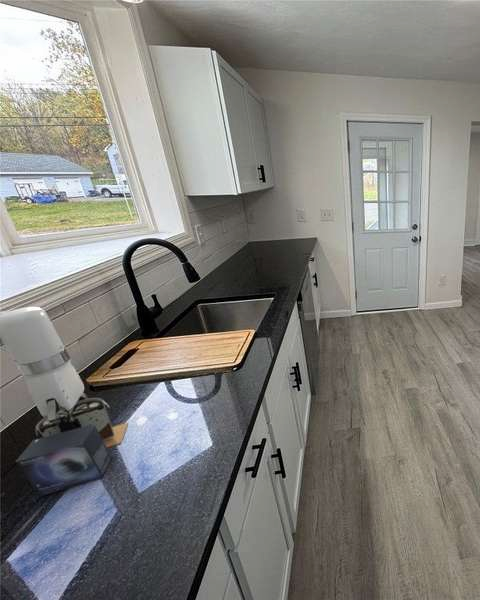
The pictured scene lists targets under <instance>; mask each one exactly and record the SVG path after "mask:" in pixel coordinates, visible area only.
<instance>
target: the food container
mask: <svg viewBox="0 0 480 600" xmlns="http://www.w3.org/2000/svg"><path fill="white" fill-rule="evenodd" d="M107 408H108V409H109V408H110V405H109V404H108V403H107V402H106V401H105V400H104V399H102V398H100V397H89V398H87V399H84V400H80V401H77V402H76V404H75V405H74V407H73V408H72V411H73V415H74V419H76V418H77V419H78V421H79V422H80V424H81V426H82V427H84V426H88V425H92V424H95V426H96V429H97V431H98V433H99V434H100V436H101V438H102V440H103V441H104V440H107V439H109V438H111V437H113V436H115V435H114V431H113V428H112V427H113V425H112V422H111V420H110V417H109V414H108V410H107ZM64 409H66V408H65V407H62V408H59V411H60V410H64ZM60 416H61V417H62V416H66V417H68V416H67V412H63V413H60ZM58 433H62V432H61V430H60V428H59V427H58V426H56V424H53V423H50V422H48V417H43V418H42V419H41V420H40V421H38V423H37V424H36V426H35V434H36V436H37V437H38V436H39V434H41V436H42V438H43V437H47V436H50V435H54V434H58Z"/></svg>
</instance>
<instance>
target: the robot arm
mask: <svg viewBox="0 0 480 600" xmlns="http://www.w3.org/2000/svg"><path fill="white" fill-rule="evenodd" d="M2 345H3V346H4V347H5V348H6V350H7V352H8V354H9V355H10V357H11V359H12V360H13V362H14V363H15V365H16V367H17V368H18V370H19V372H20V373H21V375H22V376H23V377H24V378H25V381H26V385H27V388H28V391H29V394H30V396H31V399H32V400H33V402H34V404H35V406H36V407H37V410H38V411H39V414H40V415H41V416H42V417H43V418H45V417H48V422H50V423H53V424H56V426H58V427H59V428H60V430H61V432H65V431H69V430H73V429H77V428H81V427H82V426H81V424H80V422H79V421H78V419H77V418H76V419H74V415H73V411H72V408H73V407H74V405H75V404H76V402H77V401H80V400H84V399H88V395H87V394H86V393H85V384H84V382H83V381H82V378H81V377H80V375H79V373H78V372H77V370H76V368H75V367H74V366H73V364H72V363H71V362H72V358H71V356H70V355H69V353H68V351H67V349H66V347H65V345H64V343H63V342H62V340H61V338H60V336H59V334H58V332H57V330H56V328H55V327H54V324H53V323H52V321H51V319H50V317H49V315H48V314H47V312H46V310H45V309H43V308H41V307H39V306H38V307H37V306H27V307H20V308H16V309H11V310H7V311H5V310H4V311H0V346H2ZM62 407H65V408H66V409H64V410H60V411H59V409H60V408H62ZM63 412H67V416H68V417H66V416H62V417H61V416H60V413H63Z"/></svg>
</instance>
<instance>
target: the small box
mask: <svg viewBox="0 0 480 600" xmlns="http://www.w3.org/2000/svg"><path fill="white" fill-rule="evenodd" d="M113 459H114V457H113V455H112V454H111V452H110V450H109V448H107V447H106V445H105V443H104V441H103V440H102V438H101V436H100V434H99V433H98V431H97V429H96V426H95V424H92V425H88V426H84V427H81V428H77V429H73V430H69V431H65V432H62V433H58V434H54V435H50V436H47V437H43V436H42V437H40V438H35V439H33V440H32V441H31V442H30V443H29V445H28V446H26V449H25V450H24V451H23V452H22V453H21V454H20V456H19V457H18V458H17V459H16V461H15V463H16V464H17V465H18V466H19V468H20V469H21V470H22V472H23V473H24V475H25V476H26V478H27V479H28V480H29V482H30V483H31V484H32V486H33V487H34V489H35V490H36V491H37V493H38V494H39V495H40V497H42V498H43V497H45V496H47V495H51V494H54V493H58V492H62V491H65V490H67V489H71V488H74V487H76V486H80V485H83V484H86V483H90V482H93V481H97V480H100V479H102V478H103V477H104V476H105V474H106V472H107V470H108V468H109V466H110V464H111V462H112V460H113Z"/></svg>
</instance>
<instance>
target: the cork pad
mask: <svg viewBox="0 0 480 600" xmlns="http://www.w3.org/2000/svg"><path fill="white" fill-rule="evenodd" d="M128 425H129V422H125V423H122V424H119V425H115V426H112V428H113V431H114V435H115V436H113V437H111V438H109V439H107V440H104V443H105V445H106V447H107V448H108V449H109V448H112V447H115V446H117V445H120V444H122V441H123V439H124V436H125V434H126V432H127V428H128Z"/></svg>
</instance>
